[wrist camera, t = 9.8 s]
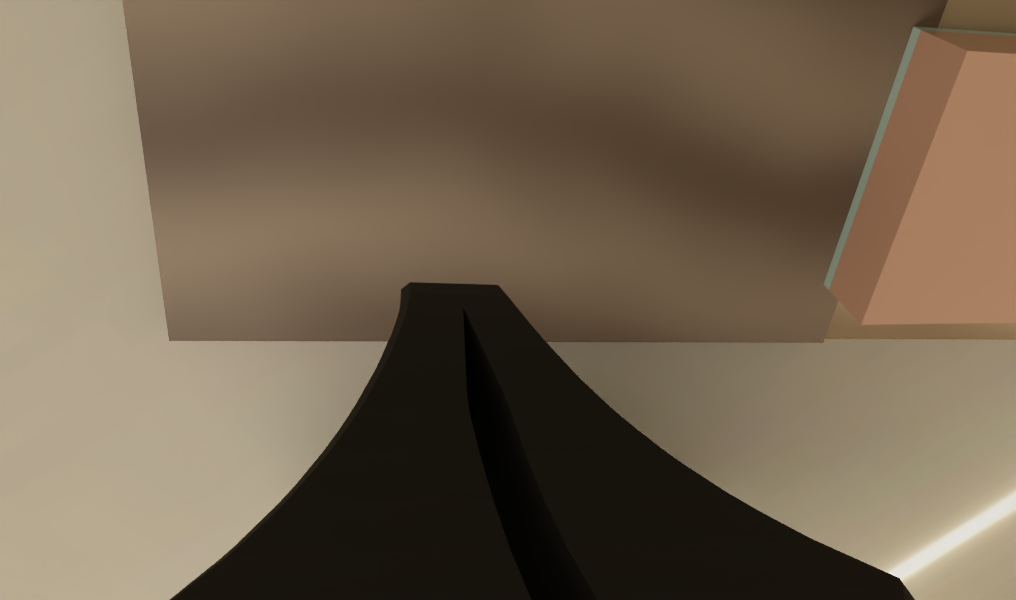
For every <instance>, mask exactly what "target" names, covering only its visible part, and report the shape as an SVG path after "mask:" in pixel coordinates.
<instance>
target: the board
mask: <svg viewBox="0 0 1016 600" xmlns="http://www.w3.org/2000/svg"><path fill="white" fill-rule="evenodd" d="M123 7H124V14H125V22H126V29H127V36H128V43H129V51H130V58H131V65H132V73H133V80H134V87H135V94H136V102H137V109H138V116H139V124H140V131H141V138H142V145H143V153H144V160H145V167H146V175H147V182H148V189H149V196H150V204H151V211H152V218H153V226H154V233H155V240H156V247H157V255H158V262H159V269H160V277H161V284H162V291H163V298H164V306H165V313H166V320H167V328H168V335H169V341H389V339H390V336H391V334H392V331H393V328H394V325H395V323H396V320H397V316H398V313H399V309H400V297H401V289H402V288H403V287H404V286H406V285H407V284H408V283H410V282H420V283H454V284H489V285H499V286H500V288H501V289H502V290H503V291H504V292H505V293H506V294H507V296H508V297H509V298H510V299H511V300H512V302H513V303H514V304H515V305H516V307H517V308H518V309H519V310H520V311H521V313H522V314H523V315H524V316H525V318H526V319H527V320H528V321H529V322H530V324H531V325H532V326H533V327H534V328H535V330H536V331H537V332H538V333H539V334H540V335H541V337H542V338H543V339H544V340H545V341H546V342H813V343H823V342H824V339H1016V323H962V324H883V325H861V324H860V323H859V322H858V321H857V320H856V319H855V318H854V317H853V315H852V314H851V313H850V312H849V311H848V310H847V309H846V308H845V307H844V306H843V305H842V304H841V303H840V302H839V301H838V299H837V298H836V297H835V296H834V295H833V294H832V293H831V292H830V291H829V290H828V289H827V288H826V287H825V286H824V285H823V284H824V281H825V279H826V276H827V273H828V270H829V267H830V264H831V261H832V259H833V256H834V253H835V250H836V247H837V244H838V241H839V238H840V236H841V233H842V230H843V227H844V224H845V221H846V218H847V215H848V213H849V210H850V207H851V204H852V201H853V198H854V195H855V193H856V190H857V187H858V184H859V181H860V178H861V175H862V172H863V170H864V167H865V164H866V161H867V158H868V155H869V152H870V150H871V147H872V144H873V141H874V138H875V135H876V132H877V129H878V127H879V124H880V121H881V118H882V115H883V112H884V109H885V106H886V104H887V101H888V98H889V95H890V92H891V89H892V86H893V84H894V81H895V78H896V75H897V72H898V69H899V66H900V63H901V61H902V58H903V55H904V52H905V49H906V46H907V43H908V41H909V38H910V35H911V32H912V29H913V27H928V28H943V29H958V30H973V31H988V32H1003V33H1016V0H123Z"/></svg>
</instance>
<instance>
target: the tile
mask: <svg viewBox="0 0 1016 600" xmlns="http://www.w3.org/2000/svg"><path fill="white" fill-rule="evenodd" d="M823 285H824V286H825V287H826V288H827V289H828V290H829V291H830V292H831V293H832V294H833V295H834V296H835V297H836V298H837V299H838V301H839V302H840V303H841V304H842V305H843V306H844V307H845V308H846V309H847V310H848V311H849V312H850V313H851V314H852V315H853V317H854V318H855V319H856V320H857V321H858V322H859V323H860V324H861V325H883V324H962V323H1016V33H1003V32H988V31H973V30H958V29H943V28H928V27H913V29H912V32H911V35H910V38H909V41H908V43H907V46H906V49H905V52H904V55H903V58H902V61H901V63H900V66H899V69H898V72H897V75H896V78H895V81H894V84H893V86H892V89H891V92H890V95H889V98H888V101H887V104H886V106H885V109H884V112H883V115H882V118H881V121H880V124H879V127H878V129H877V132H876V135H875V138H874V141H873V144H872V147H871V150H870V152H869V155H868V158H867V161H866V164H865V167H864V170H863V172H862V175H861V178H860V181H859V184H858V187H857V190H856V193H855V195H854V198H853V201H852V204H851V207H850V210H849V213H848V215H847V218H846V221H845V224H844V227H843V230H842V233H841V236H840V238H839V241H838V244H837V247H836V250H835V253H834V256H833V259H832V261H831V264H830V267H829V270H828V273H827V276H826V279H825V281H824V284H823Z"/></svg>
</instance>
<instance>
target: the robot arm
mask: <svg viewBox="0 0 1016 600" xmlns="http://www.w3.org/2000/svg"><path fill="white" fill-rule="evenodd" d="M170 600H915V599H914V598H913V597H912V595H911V594H910V592H909V591H908V590H907V588H906V587H905V586H904V584H903V583H902V582H901V580H900V578H897V577H895V576H893V575H891V574H888V573H886V572H884V571H882V570H880V569H877V568H875V567H873V566H871V565H868V564H866V563H864V562H862V561H860V560H857V559H855V558H853V557H851V556H848V555H846V554H844V553H842V552H840V551H837V550H835V549H833V548H831V547H828V546H826V545H824V544H822V543H820V542H817V541H815V540H813V539H811V538H809V537H807V536H805V535H803V534H801V533H799V532H797V531H795V530H793V529H792V528H790V527H788V526H786V525H784V524H782V523H780V522H778V521H777V520H775V519H773V518H771V517H769V516H767V515H765V514H764V513H762V512H760V511H758V510H756V509H754V508H753V507H751V506H749V505H748V504H746V503H744V502H742V501H741V500H739V499H737V498H736V497H734V496H732V495H730V494H729V493H727V492H725V491H724V490H722V489H721V488H719V487H718V486H716V485H715V484H713V483H711V482H710V481H708V480H707V479H705V478H704V477H702V476H701V475H699V474H698V473H696V472H695V471H693V470H691V469H690V468H688V467H687V466H685V465H684V464H682V463H681V462H680V461H678V460H677V459H675V458H674V457H673V456H671V455H670V454H668V453H667V452H665V451H664V450H663V449H661V448H660V447H659V446H658V445H656V444H655V443H654V442H652V441H651V440H650V439H649V438H647V437H646V436H645V435H644V434H642V433H641V432H640V431H638V430H637V429H636V428H635V427H633V426H632V425H631V424H630V423H628V422H627V421H626V420H625V419H624V418H622V417H621V416H620V415H619V414H618V413H616V412H615V411H614V410H613V409H612V408H611V407H610V406H609V405H607V404H606V403H605V402H604V401H603V400H602V399H601V398H600V397H599V396H598V395H597V394H596V393H595V392H594V391H593V390H592V389H590V388H589V387H588V386H587V385H586V384H585V383H584V382H583V381H582V380H581V379H580V378H579V377H578V376H577V375H576V374H575V373H574V372H573V371H572V370H571V369H570V368H569V367H568V365H567V364H566V363H565V362H564V361H563V360H562V359H561V358H560V357H559V356H558V355H557V354H556V352H555V351H554V350H553V349H552V348H551V347H550V346H549V345H548V344H547V342H546V341H545V340H544V339H543V338H542V337H541V335H540V334H539V333H538V332H537V331H536V330H535V328H534V327H533V326H532V325H531V324H530V322H529V321H528V320H527V319H526V318H525V316H524V315H523V314H522V313H521V311H520V310H519V309H518V308H517V307H516V305H515V304H514V303H513V302H512V300H511V299H510V298H509V297H508V296H507V294H506V293H505V292H504V291H503V290H502V289H501V288H500V286H499V285H489V284H454V283H420V282H410V283H408V284H407V285H406V286H404V287H403V288H402V289H401V297H400V309H399V313H398V316H397V320H396V323H395V325H394V328H393V331H392V334H391V336H390V339H389V341H388V343H387V346H386V348H385V350H384V352H383V355H382V357H381V359H380V361H379V364H378V366H377V368H376V370H375V372H374V373H373V375H372V377H371V379H370V380H369V382H368V384H367V386H366V387H365V389H364V391H363V393H362V395H361V396H360V398H359V400H358V402H357V403H356V405H355V407H354V408H353V410H352V411H351V413H350V414H349V416H348V418H347V419H346V421H345V422H344V424H343V425H342V426H341V428H340V429H339V431H338V432H337V434H336V435H335V436H334V438H333V439H332V440H331V442H330V443H329V445H328V446H327V447H326V449H325V450H324V451H323V453H322V454H321V455H320V456H319V458H318V459H317V460H316V461H315V462H314V464H313V465H312V466H311V467H310V468H309V470H308V471H307V472H306V473H305V474H304V476H303V477H302V478H301V479H300V481H299V482H298V483H297V484H296V485H295V486H294V487H293V488H292V490H291V491H290V492H289V493H288V494H287V495H286V496H285V497H284V498H283V499H282V500H281V502H280V503H279V504H278V505H277V506H276V507H275V508H274V509H273V510H271V511H270V512H269V513H268V514H267V515H266V516H265V517H264V518H263V519H262V520H261V521H260V522H259V523H258V524H257V525H256V526H255V527H254V528H253V529H252V530H251V531H250V532H249V533H248V534H247V535H246V536H245V537H244V538H243V539H242V540H241V541H240V542H239V543H238V544H237V545H236V546H234V547H233V548H232V549H231V550H230V551H229V552H228V553H227V554H225V555H224V556H223V557H222V558H221V559H220V560H219V561H217V562H216V563H215V564H214V565H212V566H211V567H210V568H209V569H207V570H206V571H205V572H204V573H202V574H201V575H200V576H199V577H197V578H196V579H195V580H194V581H192V582H191V583H190V584H189V585H187V586H186V587H185V588H184V589H182V590H181V591H180V592H179V593H178V594H176V595H175V596H174V597H173V598H171V599H170Z"/></svg>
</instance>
